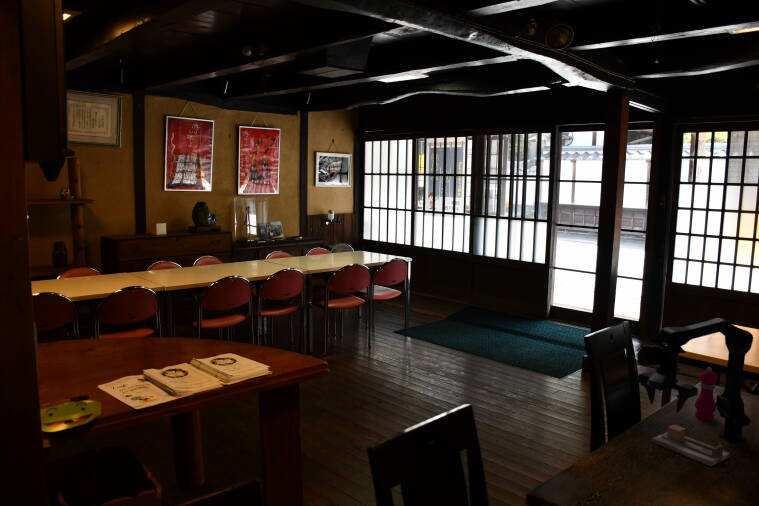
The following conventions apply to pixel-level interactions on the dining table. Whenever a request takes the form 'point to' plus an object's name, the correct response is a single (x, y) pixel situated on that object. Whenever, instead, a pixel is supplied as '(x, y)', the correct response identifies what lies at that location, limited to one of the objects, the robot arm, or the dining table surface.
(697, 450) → the track board
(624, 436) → the dining table surface
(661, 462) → the dining table surface
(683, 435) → the terracotta cardboard box
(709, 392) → the pepper mill
